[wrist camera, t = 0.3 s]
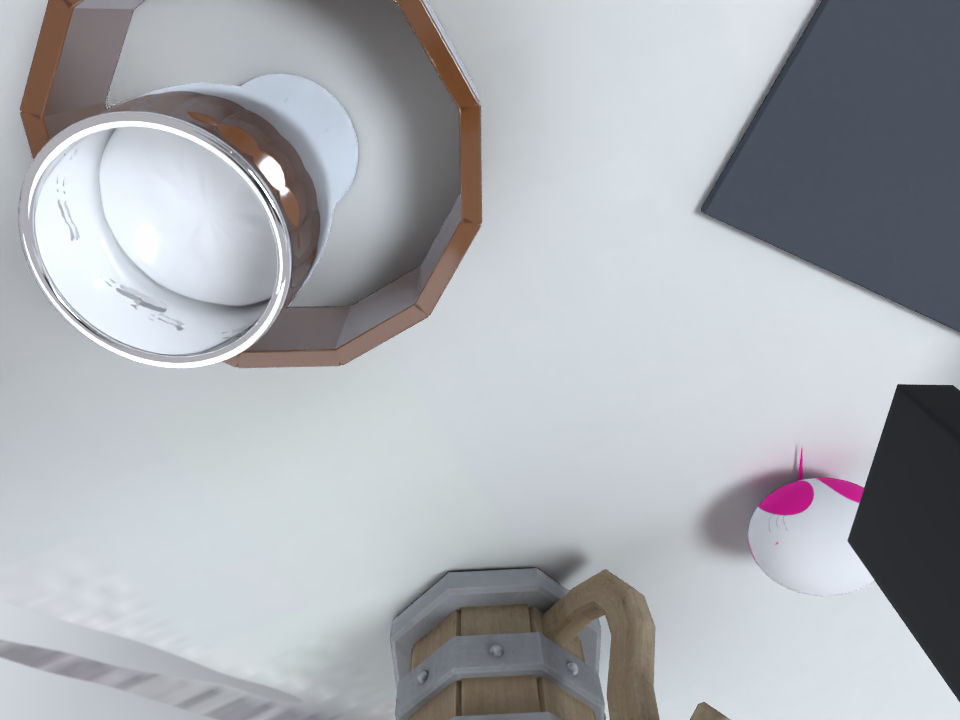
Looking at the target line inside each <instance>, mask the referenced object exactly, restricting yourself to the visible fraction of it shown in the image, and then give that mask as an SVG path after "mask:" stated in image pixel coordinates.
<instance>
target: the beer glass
mask: <svg viewBox="0 0 960 720" xmlns="http://www.w3.org/2000/svg"><path fill="white" fill-rule="evenodd" d="M357 165H358V142H357V137H356V133H355V130H354V127H353V124H352V122H351V120H350V118H349V116H348V114H347V112H346V111H345V109H344V108H343V107H342V105H341V104H340V103H339V102H338V100H337V99H336V98H335V97H334V96H333V95H332V94H330V93H329V92H328V91H327V90H326V89H324V88H323V87H321V86H320V85H318V84H317V83H315V82H313V81H311V80H309V79H306V78H303V77H300V76H296V75H291V74H268V75H263V76H259V77H256V78H254V79H252V80H250V81H248V82H246V83H244V84H243V85H241V86H235V85H227V84H219V83H191V84H184V85H178V86H171V87H166V88H161V89H158V90H154V91H151V92H149V93H146V94H143V95H140V96H137V97H134V98H131V99H129V100H126V101H124V102H122V103H120V104H118V105H116V106H114V107H111V108H109V109H107V110H105V111H103V112H101V113H100V114H98V115H96V116H93V117H89V118H86V119H84V120H81V121H79V122H77V123H75V124H73V125H71V126H69V127H67V128H66V129H64V130H63V131H61V132H60V133H58V134H57V135H56V136H54V137H53V138H52V139H51V140H50V141H49V142H48V143H47V144H46V145H45V146H44V147H43V148H42V149H41V151H40V152H39V153H38V154H37V156H36V157H35V159H34V160H33V162H32V164H31V165H30V167H29V169H28V171H27V174H26V176H25V179H24V182H23V185H22V188H21V193H20V198H19V206H18V225H19V233H20V239H21V244H22V248H23V251H24V255H25V258H26V260H27V263H28V265H29V268H30V270H31V272H32V274H33V276H34V278H35V280H36V282H37V284H38V285H39V287H40V289H41V290H42V292H43V293H44V295H45V296H46V298H47V299H48V300H49V301H50V303H51V304H52V305H53V306H54V308H55V309H56V310H57V311H58V312H59V313H60V314H61V315H62V316H63V317H64V318H65V319H66V320H67V321H68V322H69V323H70V324H71V325H72V326H73V327H74V328H76V329H77V330H78V331H79V332H81V333H82V334H83V335H85V336H86V337H87V338H89V339H90V340H92V341H93V342H95V343H97V344H98V345H100V346H102V347H103V348H105V349H107V350H109V351H111V352H113V353H115V354H118V355H120V356H122V357H125V358H128V359H130V360H133V361H137V362H140V363H144V364H148V365H153V366H159V367H168V368H193V367H201V366H207V365H211V364H215V363H218V362H221V361H224V360H227V359H229V358H231V357H234V356H236V355H238V354H239V353H241V352H243V351H244V350H246V349H247V348H249V347H250V346H252V345H253V344H254V343H256V342H257V341H258V340H259V339H260V338H261V337H262V336H263V335H264V334H265V333H266V332H267V331H268V329H269V328H270V327H271V326H272V324H273V323H274V321H275V320H276V318H277V317H278V316H279V315H280V314H281V312H282V311H283V310H284V309H285V308H286V307H287V306H288V305H289V303H290V302H291V301H292V300H293V299H294V298H295V296H296V295H297V294H298V293H299V291H300V290H301V289H302V287H303V286H304V284H305V283H306V281H307V280H308V278H309V277H310V275H311V274H312V272H313V271H314V269H315V267H316V265H317V263H318V261H319V259H320V257H321V255H322V252H323V250H324V248H325V246H326V243H327V241H328V238H329V234H330V230H331V225H332V219H333V213H334V205H335V204H336V203H337V202H338V201H339V200H340V199H341V198H342V197H343V196H344V195H345V193H346V192H347V191H348V189H349V187H350V186H351V184H352V182H353V179H354V177H355V174H356V170H357Z"/></svg>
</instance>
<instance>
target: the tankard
mask: <svg viewBox="0 0 960 720" xmlns="http://www.w3.org/2000/svg"><path fill="white" fill-rule="evenodd" d="M603 615H606V619H607V622H608V625H609V629H610V632H611V648H610V660H609V673H608V685H607V700H608V708H609V716H610V720H659V714H658V709H657V703H656V698H655V693H654V687H653V683H654V652H655V625H654V622H653V619H652V617H651V614H650V611H649V608H648V606H647V603H646V600H645V597H644V596H643V595H642V594H641V593H639V592H638V591H637V590H635V589H634V588H633V587H631V586H630V585H628V584H627V583H625V582H624V581H622V580H621V579H619V578H618V577H616V576H615V575H613V574H612V573H610V572H609V571H608V570H606V569H605V570H603V571H601V572H600V573H598V574H596V575H595V576H593V577H591V578H590V579H588V580H586V581H584V582H583V583H581V584H579V585H578V586H576V587H574V588H573V589H571V590H570V591H568V590H567V589H565V588H564V587H563V586H561V585H560V584H558V583H557V582H556V581H554V580H553V579H551V578H550V577H549V576H547V575H546V574H544V573H543V572H542V571H540V570H539V569H537V568H530V569H509V570H489V571H468V572H449V573H447V574H446V575H445V576H444V577H443V578H442V579H440V580H439V581H438V582H437V583H436V584H435V585H433V586H432V587H431V588H430V589H429V590H428V591H426V592H425V593H424V594H423V595H422V596H421V597H420V598H418V599H417V600H416V601H415V602H414V603H413V604H411V605H410V606H409V607H408V608H407V609H406V610H404V611H403V612H402V613H401V614H400V615H399V616H397V617H396V618H395V619H394V620H393V621H392V626H391V635H390V641H391V648H392V656H393V663H394V671H395V678H396V685H397V699H396V710H395V717H396V720H606V715H605V713H604V707H605V703H604V698H603V694H602V689H601V684H600V679H599V675H598V674H599V655H600V635H601V626H600V622H599V617H601V616H603ZM690 720H730V719H729V718H727V717H726V716H724V715H723V714H721V713H720V712H718V711H717V710H715V709H714V708H712V707H711V706H710V705H708V704H707V703H705V702H702V703H700V704H698V706H697V707H696V709H695V711H694V713H693V715H692V717H691V718H690Z"/></svg>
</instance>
